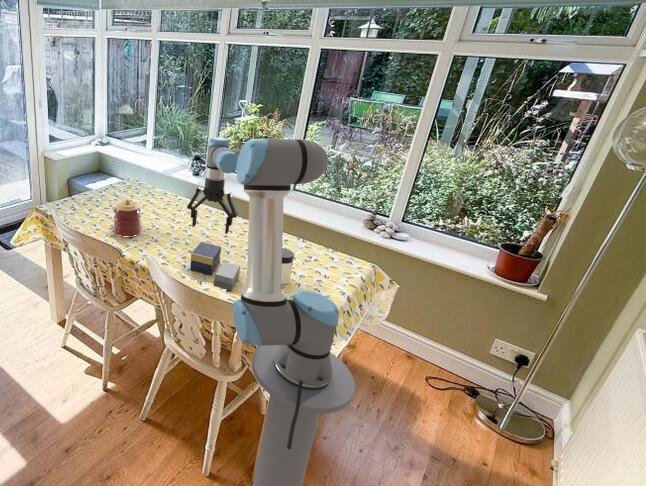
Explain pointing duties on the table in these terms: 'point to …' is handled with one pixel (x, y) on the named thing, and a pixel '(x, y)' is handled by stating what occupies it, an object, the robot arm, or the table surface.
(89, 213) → the table surface
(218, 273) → the grey stack
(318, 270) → the table surface
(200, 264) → the navy stack
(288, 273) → the jar
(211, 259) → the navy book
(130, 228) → the kitchen canister
